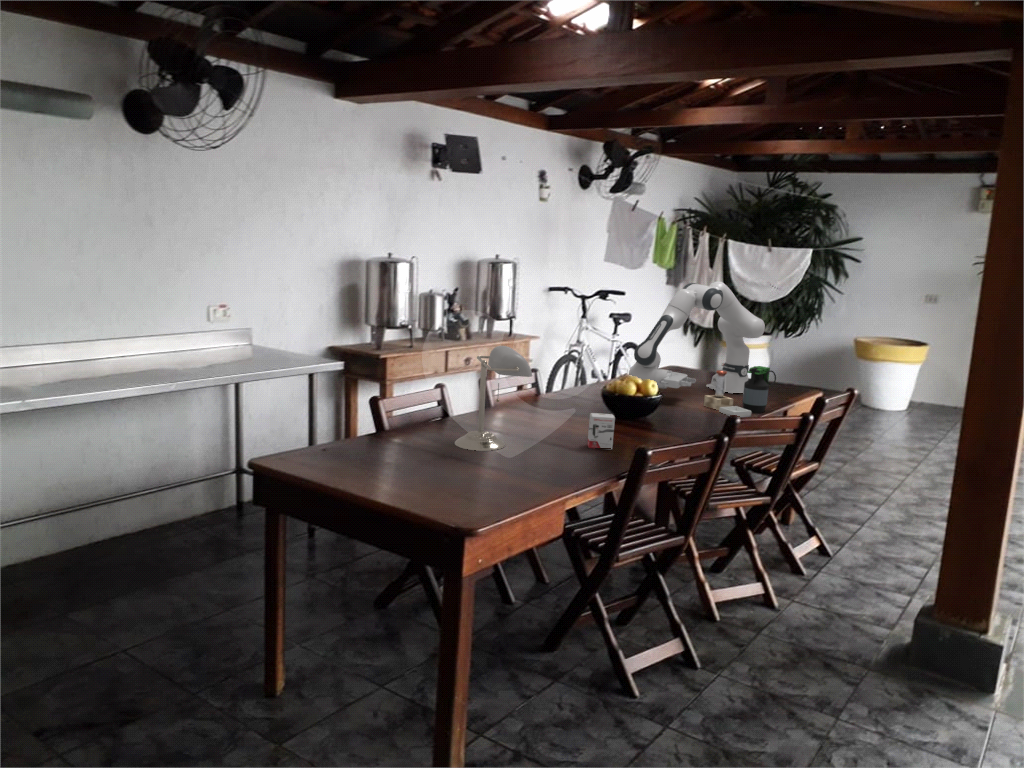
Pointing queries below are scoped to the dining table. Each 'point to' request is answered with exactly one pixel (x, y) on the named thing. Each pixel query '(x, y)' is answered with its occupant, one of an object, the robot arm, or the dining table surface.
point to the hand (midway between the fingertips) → (693, 382)
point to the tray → (735, 411)
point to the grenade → (757, 389)
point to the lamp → (505, 365)
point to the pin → (720, 383)
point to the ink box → (601, 430)
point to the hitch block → (717, 402)
